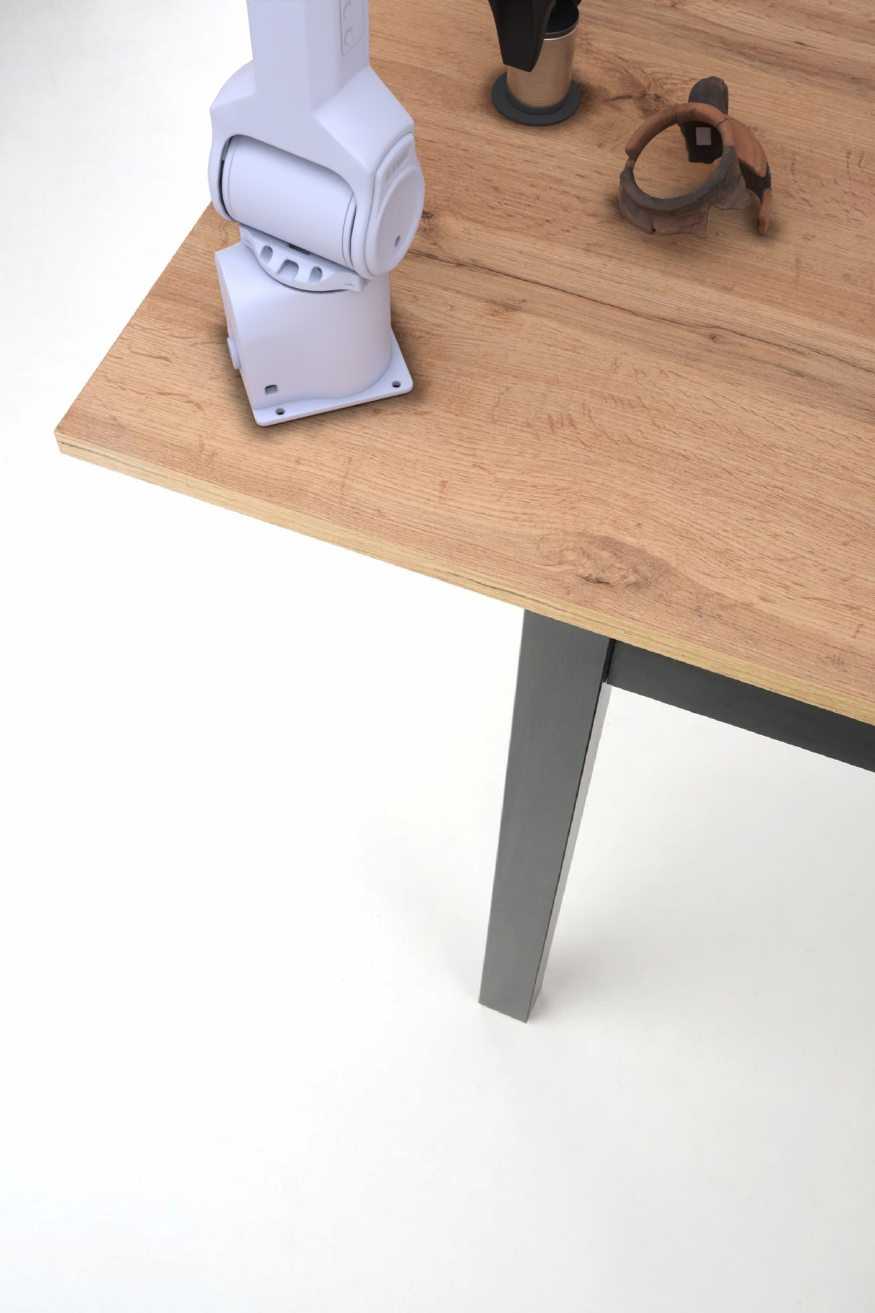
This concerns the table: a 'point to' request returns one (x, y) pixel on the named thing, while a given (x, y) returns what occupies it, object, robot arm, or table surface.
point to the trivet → (533, 119)
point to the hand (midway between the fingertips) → (542, 31)
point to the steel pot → (548, 65)
